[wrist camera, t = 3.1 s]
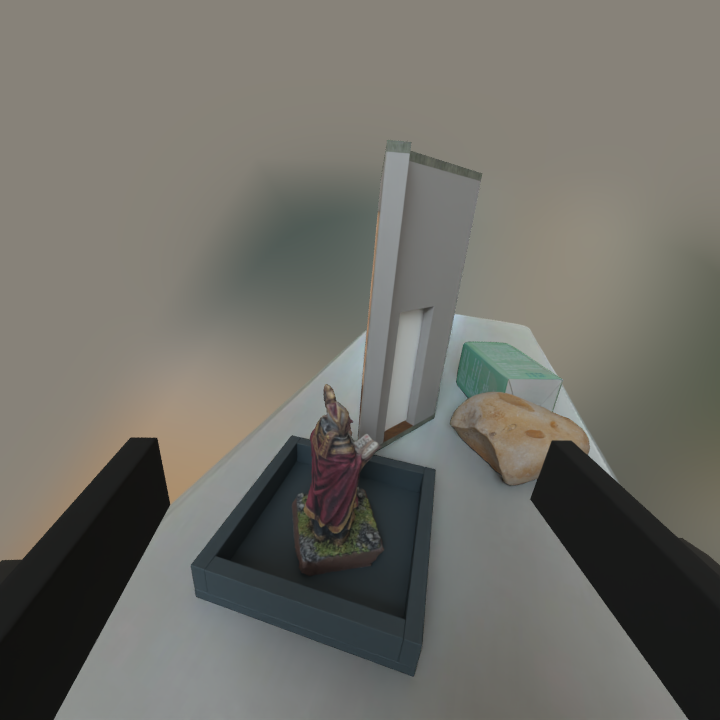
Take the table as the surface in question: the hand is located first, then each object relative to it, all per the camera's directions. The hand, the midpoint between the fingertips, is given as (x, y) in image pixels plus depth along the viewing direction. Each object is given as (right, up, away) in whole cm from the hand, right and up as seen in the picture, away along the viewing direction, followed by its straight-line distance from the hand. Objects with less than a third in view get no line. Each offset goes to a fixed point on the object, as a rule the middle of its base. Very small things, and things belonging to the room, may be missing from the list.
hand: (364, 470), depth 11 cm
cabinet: (+5, -4, +31) cm, 32 cm away
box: (+19, -3, +37) cm, 42 cm away
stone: (+16, -7, +25) cm, 31 cm away
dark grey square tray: (-2, -10, +15) cm, 18 cm away
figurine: (-2, -10, +14) cm, 17 cm away
